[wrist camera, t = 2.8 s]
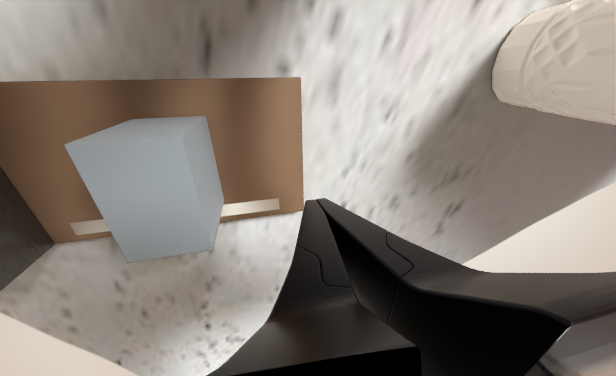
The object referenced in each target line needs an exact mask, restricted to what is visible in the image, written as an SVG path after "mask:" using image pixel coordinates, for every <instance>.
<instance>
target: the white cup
mask: <svg viewBox="0 0 616 376" xmlns="http://www.w3.org/2000/svg"><path fill="white" fill-rule="evenodd" d="M492 89H493V91H494V93H495V94H496V96H497V98H498V99H499V101H501V102H504V103H508V104H511V105H516V106H522V107H528V108H534V109H536V110H538V111H542V112H547V113H554V114H558V115H562V116H567V117H572V118H578V119H583V120H589V121H595V122H601V123H606V124H612V125H616V0H573V1H570V2H567V3H563V4H559V5H556V6H552V7H548V8H544V9H540V10H537V11H534V12H532V13H531V14H530V15H528V16H527V17H526V18H525V19H524V20H522V21H521V22H520V23H519V24H517V25H516V26H515V27H514V28H513V30H512V31H511V33H510V34H509V36H508V37H507V39H506V40H505V41H504V43H503V44H502V46H501V47H500V49H499V52H498V55H497V58H496V61H495V64H494V67H493V70H492Z"/></svg>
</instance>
